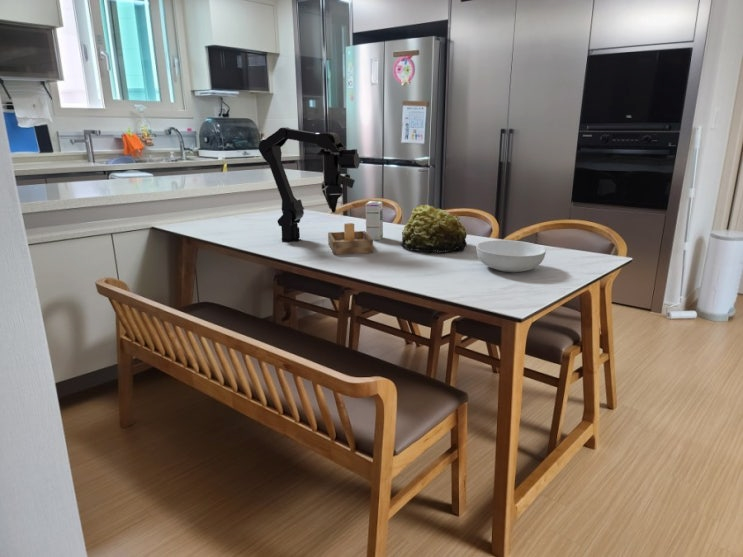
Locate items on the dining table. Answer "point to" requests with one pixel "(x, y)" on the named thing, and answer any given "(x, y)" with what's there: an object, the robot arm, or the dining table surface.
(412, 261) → the dining table surface
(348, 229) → the peg
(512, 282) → the dining table surface
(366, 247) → the crate
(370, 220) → the syrup box
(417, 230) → the lumpy green mound
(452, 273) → the dining table surface
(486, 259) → the serving bowl
